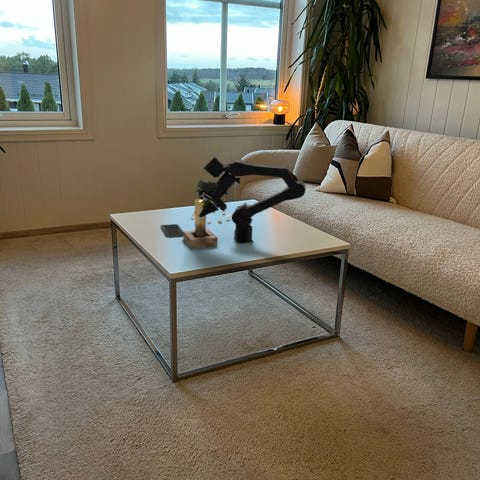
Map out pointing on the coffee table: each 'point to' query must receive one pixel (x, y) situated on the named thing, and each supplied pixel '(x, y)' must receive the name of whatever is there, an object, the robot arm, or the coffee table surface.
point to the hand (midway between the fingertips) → (197, 215)
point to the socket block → (200, 239)
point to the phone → (172, 230)
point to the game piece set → (210, 221)
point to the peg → (200, 222)
